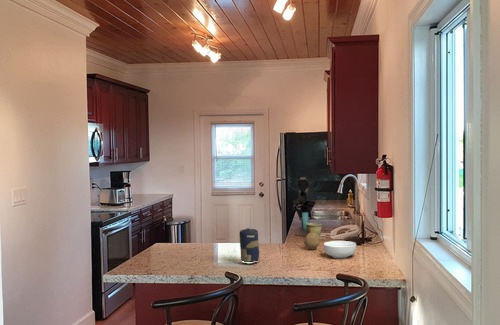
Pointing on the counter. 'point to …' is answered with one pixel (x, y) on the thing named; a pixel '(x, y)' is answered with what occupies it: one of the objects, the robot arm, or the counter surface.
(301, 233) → the walnut base
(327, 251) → the cereal bowl
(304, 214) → the teal post
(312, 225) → the ceramic cup
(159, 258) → the counter surface
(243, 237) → the canister
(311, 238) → the natural sponge
